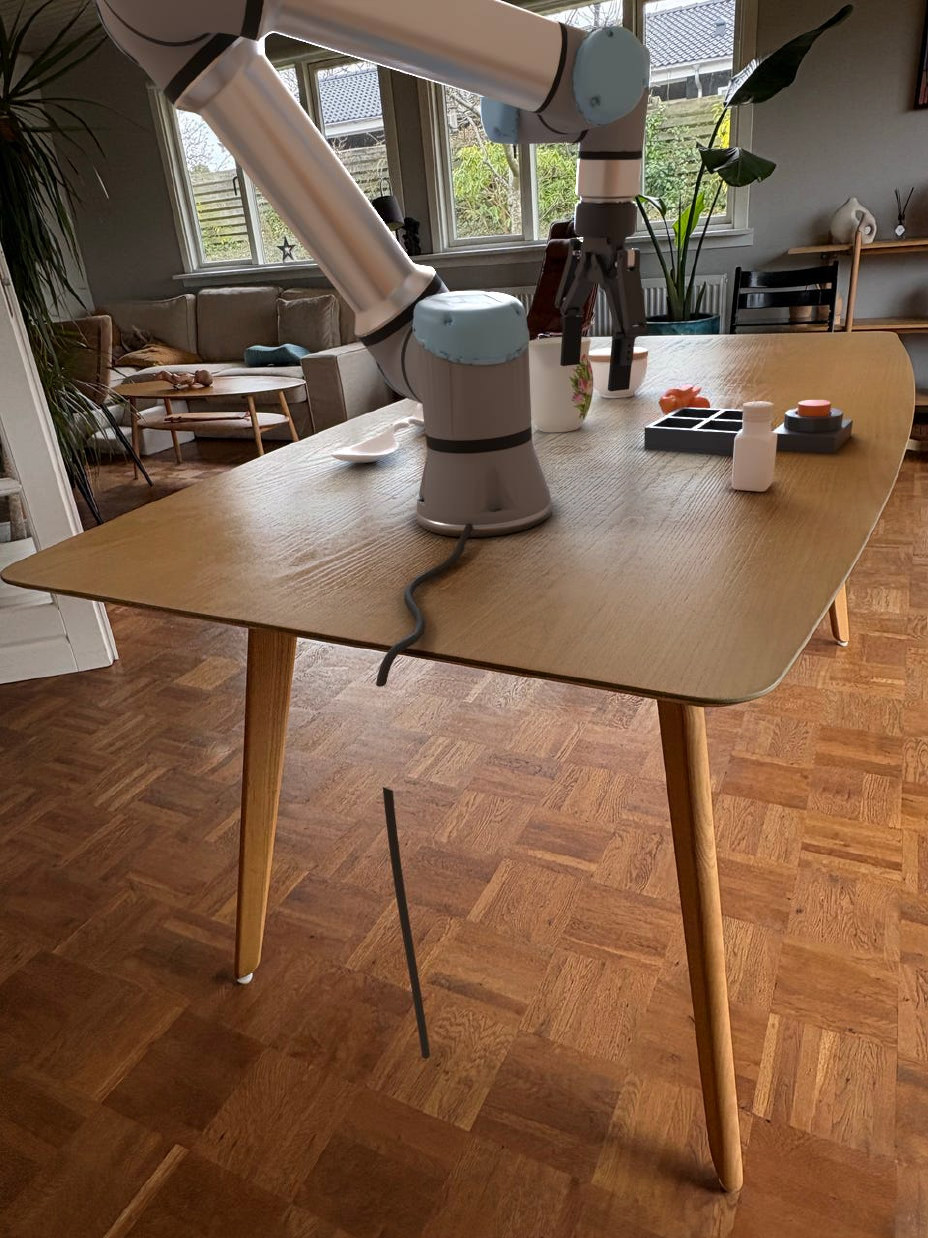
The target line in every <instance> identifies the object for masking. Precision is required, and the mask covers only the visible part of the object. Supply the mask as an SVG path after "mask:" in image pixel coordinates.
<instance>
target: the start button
mask: <svg viewBox="0 0 928 1238" xmlns="http://www.w3.org/2000/svg"><path fill="white" fill-rule="evenodd" d="M797 408H798V413H797V415H801V416H810V417H817V416H827V415H830V410H831V408H832V401H830V400H826V399H805V400H801V401H799V402H798V405H797Z"/></svg>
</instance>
